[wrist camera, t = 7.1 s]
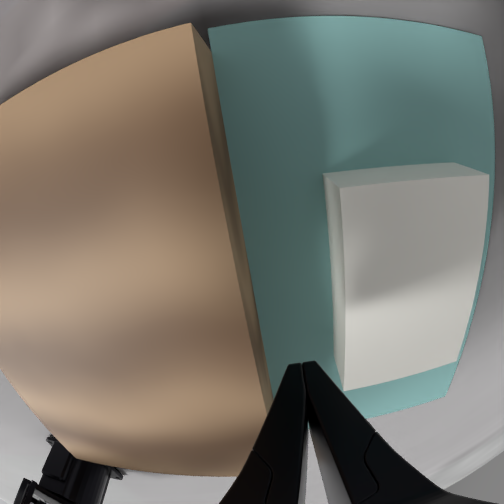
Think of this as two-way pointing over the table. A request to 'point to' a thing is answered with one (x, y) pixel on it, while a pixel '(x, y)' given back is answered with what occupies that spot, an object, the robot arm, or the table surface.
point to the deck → (130, 263)
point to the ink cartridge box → (37, 497)
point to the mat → (339, 158)
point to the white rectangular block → (403, 266)
